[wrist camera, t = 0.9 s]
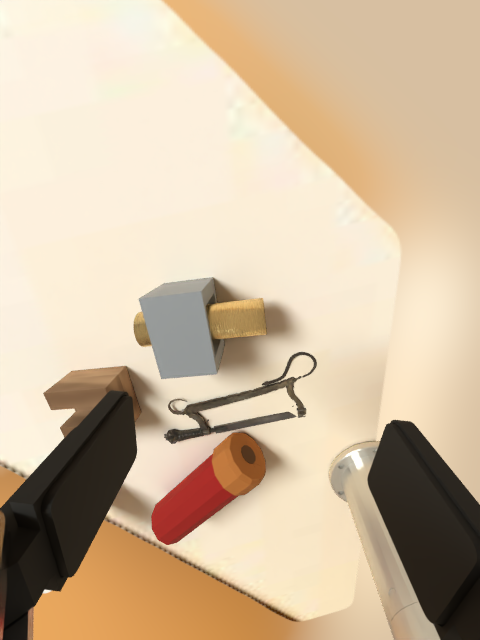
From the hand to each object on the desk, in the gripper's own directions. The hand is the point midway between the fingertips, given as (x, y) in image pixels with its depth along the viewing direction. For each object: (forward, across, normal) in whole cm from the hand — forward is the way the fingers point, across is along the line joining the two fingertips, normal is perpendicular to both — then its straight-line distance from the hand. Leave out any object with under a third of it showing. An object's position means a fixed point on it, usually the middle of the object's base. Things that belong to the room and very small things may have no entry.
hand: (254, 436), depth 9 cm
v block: (+22, +20, +16) cm, 33 cm away
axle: (+20, +6, +3) cm, 21 cm away
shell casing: (+22, +4, +30) cm, 37 cm away
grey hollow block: (+22, +7, +3) cm, 23 cm away
